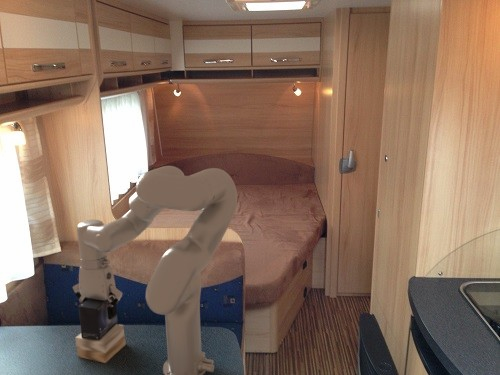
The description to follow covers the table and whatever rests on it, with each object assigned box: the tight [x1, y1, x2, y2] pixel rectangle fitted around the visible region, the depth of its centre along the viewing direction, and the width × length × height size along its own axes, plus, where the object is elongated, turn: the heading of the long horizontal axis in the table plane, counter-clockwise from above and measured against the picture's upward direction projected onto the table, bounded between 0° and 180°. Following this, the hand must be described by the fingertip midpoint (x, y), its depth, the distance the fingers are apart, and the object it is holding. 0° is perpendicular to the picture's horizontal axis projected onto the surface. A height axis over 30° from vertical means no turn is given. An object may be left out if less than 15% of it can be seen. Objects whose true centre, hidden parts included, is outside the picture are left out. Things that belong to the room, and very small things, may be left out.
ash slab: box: [74, 323, 125, 353], centre depth 133 cm, size 10×10×4 cm
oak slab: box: [76, 335, 127, 364], centre depth 134 cm, size 10×10×4 cm
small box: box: [78, 294, 119, 340], centre depth 132 cm, size 11×6×10 cm, turn 167°
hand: (99, 314), depth 132 cm, fingers open, 9 cm apart
